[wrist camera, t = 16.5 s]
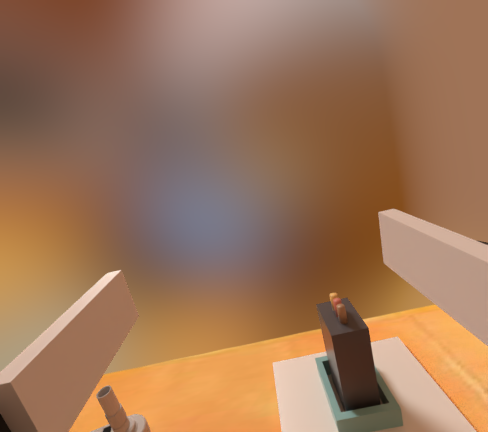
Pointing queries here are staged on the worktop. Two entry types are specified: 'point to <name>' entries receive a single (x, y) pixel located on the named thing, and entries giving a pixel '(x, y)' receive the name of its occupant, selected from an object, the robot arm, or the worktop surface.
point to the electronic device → (118, 415)
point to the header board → (370, 418)
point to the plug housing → (349, 354)
